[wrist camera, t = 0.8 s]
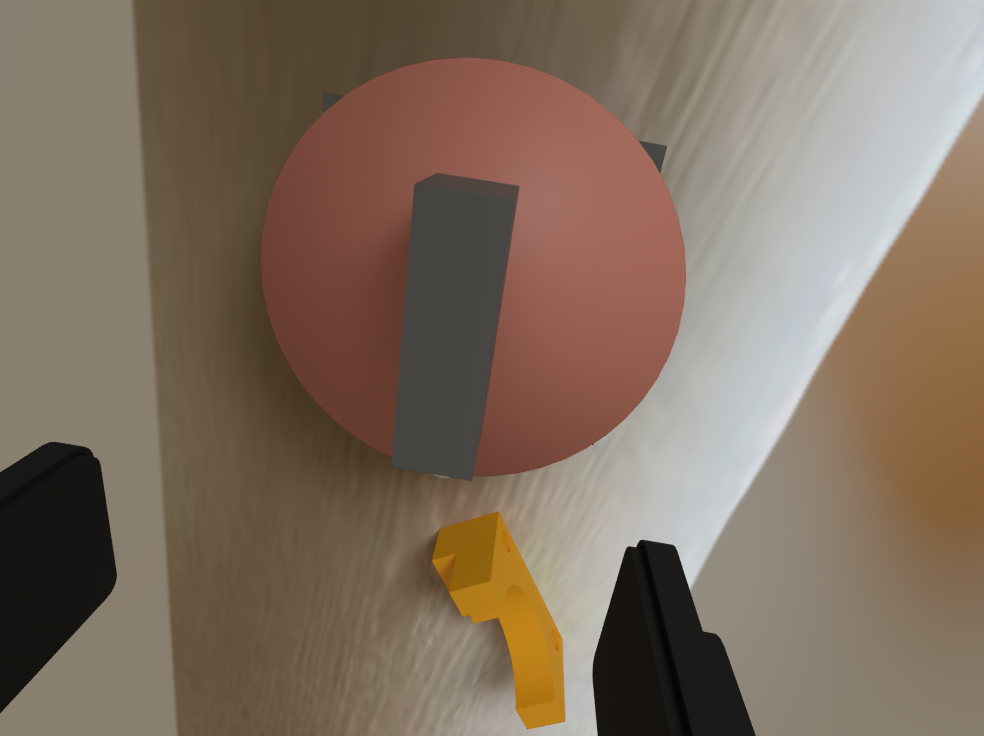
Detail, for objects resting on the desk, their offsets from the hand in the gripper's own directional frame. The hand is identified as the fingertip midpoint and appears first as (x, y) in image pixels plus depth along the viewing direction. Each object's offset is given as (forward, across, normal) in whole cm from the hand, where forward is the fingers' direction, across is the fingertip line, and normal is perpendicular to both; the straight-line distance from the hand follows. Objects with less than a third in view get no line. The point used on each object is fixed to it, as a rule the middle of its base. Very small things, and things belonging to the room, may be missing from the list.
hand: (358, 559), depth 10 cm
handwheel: (+17, 0, 0) cm, 17 cm away
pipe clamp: (+24, -4, +22) cm, 33 cm away
